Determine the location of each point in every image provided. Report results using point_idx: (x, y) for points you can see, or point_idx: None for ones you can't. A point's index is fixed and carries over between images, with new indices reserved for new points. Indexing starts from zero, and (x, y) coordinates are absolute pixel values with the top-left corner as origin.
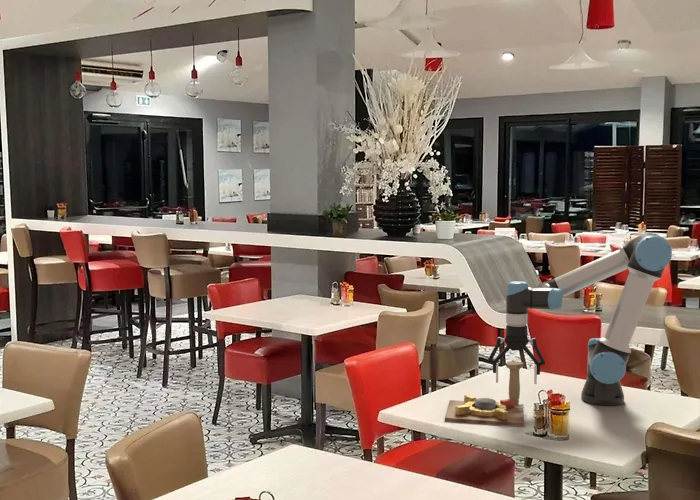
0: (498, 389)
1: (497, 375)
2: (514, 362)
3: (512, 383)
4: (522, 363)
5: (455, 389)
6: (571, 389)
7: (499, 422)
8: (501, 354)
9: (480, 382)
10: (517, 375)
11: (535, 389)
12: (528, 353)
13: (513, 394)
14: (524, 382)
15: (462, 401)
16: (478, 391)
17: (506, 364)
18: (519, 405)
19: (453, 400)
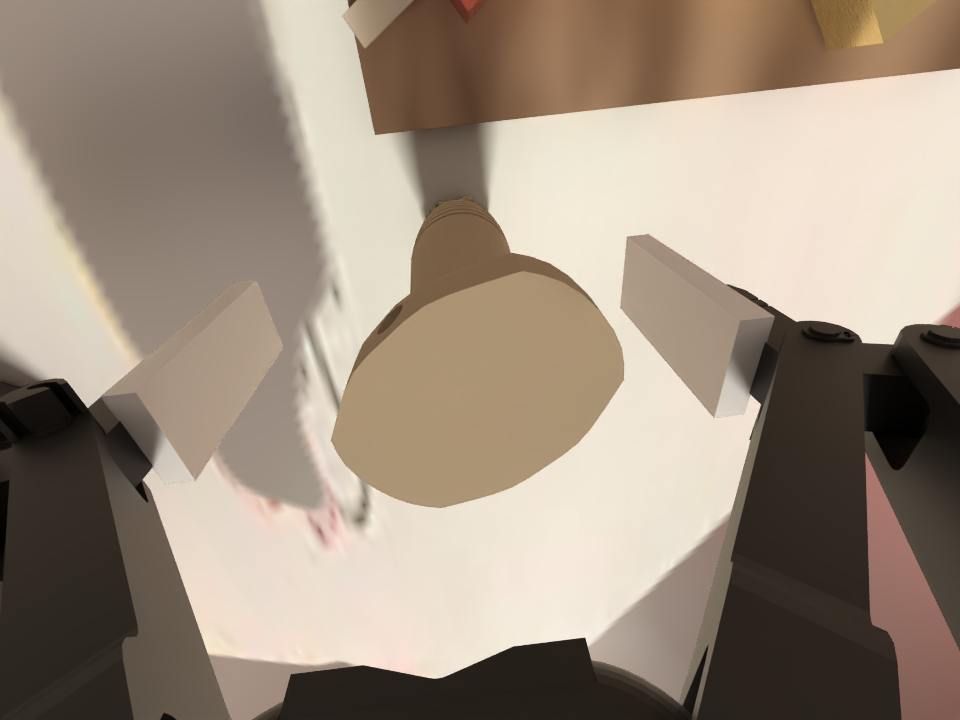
0: (565, 473)
1: (668, 260)
2: (482, 448)
3: (477, 234)
4: (342, 423)
5: None
6: (239, 561)
7: None
8: (829, 469)
9: (645, 537)
10: (424, 283)
11: (391, 520)
12: (80, 610)
13: (461, 204)
14: (456, 583)
15: (875, 54)
16: (672, 414)
17: (611, 328)
18: (397, 95)
19: (946, 63)
